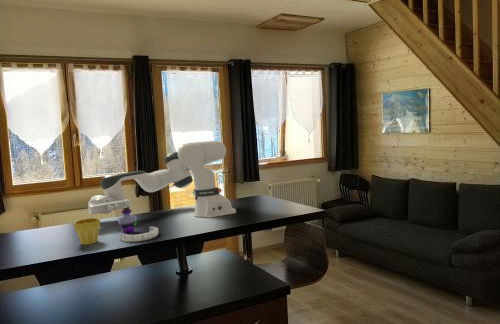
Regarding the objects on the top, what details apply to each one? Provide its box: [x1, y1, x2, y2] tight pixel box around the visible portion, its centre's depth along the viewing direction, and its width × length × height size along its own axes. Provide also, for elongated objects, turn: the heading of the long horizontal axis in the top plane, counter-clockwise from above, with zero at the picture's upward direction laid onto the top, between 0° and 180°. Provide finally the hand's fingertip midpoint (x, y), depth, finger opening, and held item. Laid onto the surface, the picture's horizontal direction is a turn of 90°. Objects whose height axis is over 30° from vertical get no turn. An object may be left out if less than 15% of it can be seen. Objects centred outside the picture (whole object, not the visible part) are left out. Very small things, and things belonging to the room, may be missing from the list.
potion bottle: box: [117, 207, 137, 235], centre depth 188 cm, size 9×9×12 cm
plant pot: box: [73, 217, 101, 246], centre depth 174 cm, size 10×10×10 cm
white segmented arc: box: [118, 226, 159, 243], centre depth 177 cm, size 11×16×2 cm
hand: (115, 207), depth 197 cm, fingers closed
